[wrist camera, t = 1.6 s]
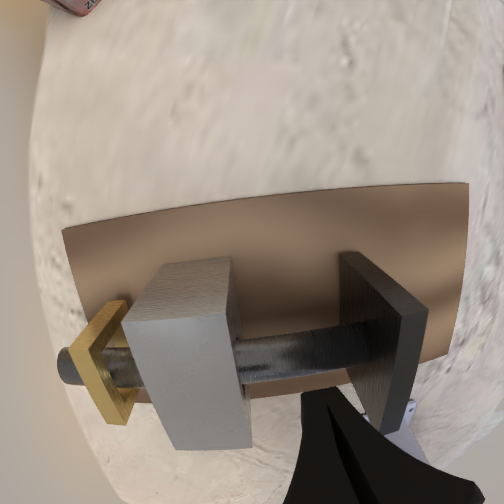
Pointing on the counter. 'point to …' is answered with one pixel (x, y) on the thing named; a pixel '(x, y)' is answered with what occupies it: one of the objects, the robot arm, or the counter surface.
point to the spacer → (94, 367)
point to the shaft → (327, 346)
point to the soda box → (75, 5)
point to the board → (289, 258)
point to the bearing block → (192, 354)
